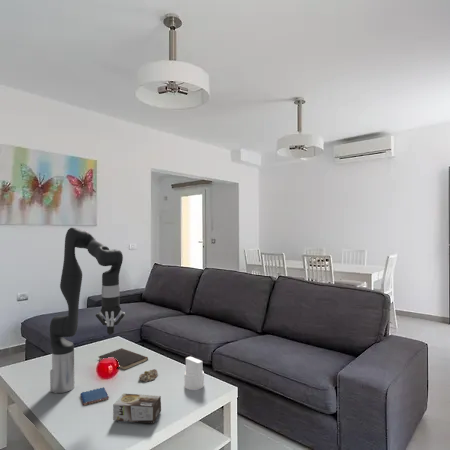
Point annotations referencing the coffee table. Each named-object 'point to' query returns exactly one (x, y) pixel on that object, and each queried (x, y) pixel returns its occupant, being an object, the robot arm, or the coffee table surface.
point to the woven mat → (94, 396)
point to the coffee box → (137, 408)
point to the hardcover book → (125, 358)
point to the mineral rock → (148, 375)
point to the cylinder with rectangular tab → (194, 374)
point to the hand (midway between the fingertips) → (111, 334)
